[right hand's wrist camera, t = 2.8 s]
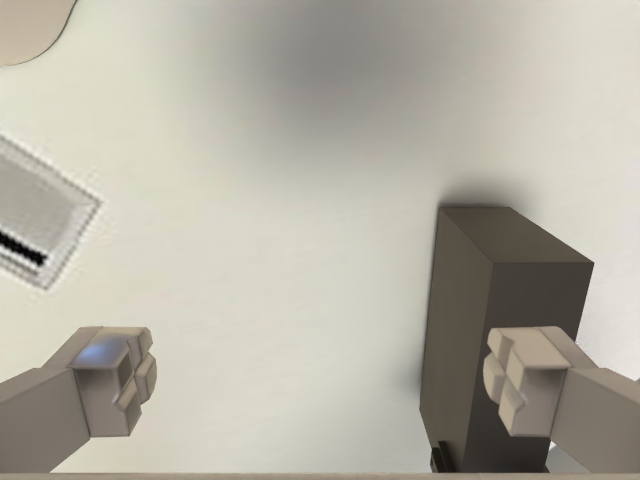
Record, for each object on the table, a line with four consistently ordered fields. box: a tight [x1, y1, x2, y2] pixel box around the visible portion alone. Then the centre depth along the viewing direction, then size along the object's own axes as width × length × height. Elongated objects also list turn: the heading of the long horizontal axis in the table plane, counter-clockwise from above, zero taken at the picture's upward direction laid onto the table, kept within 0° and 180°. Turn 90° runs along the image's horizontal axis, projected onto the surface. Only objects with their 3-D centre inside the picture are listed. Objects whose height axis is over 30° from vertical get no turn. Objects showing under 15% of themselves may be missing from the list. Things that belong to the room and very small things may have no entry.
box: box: [419, 207, 594, 473], centre depth 36 cm, size 23×6×12 cm, turn 0°
